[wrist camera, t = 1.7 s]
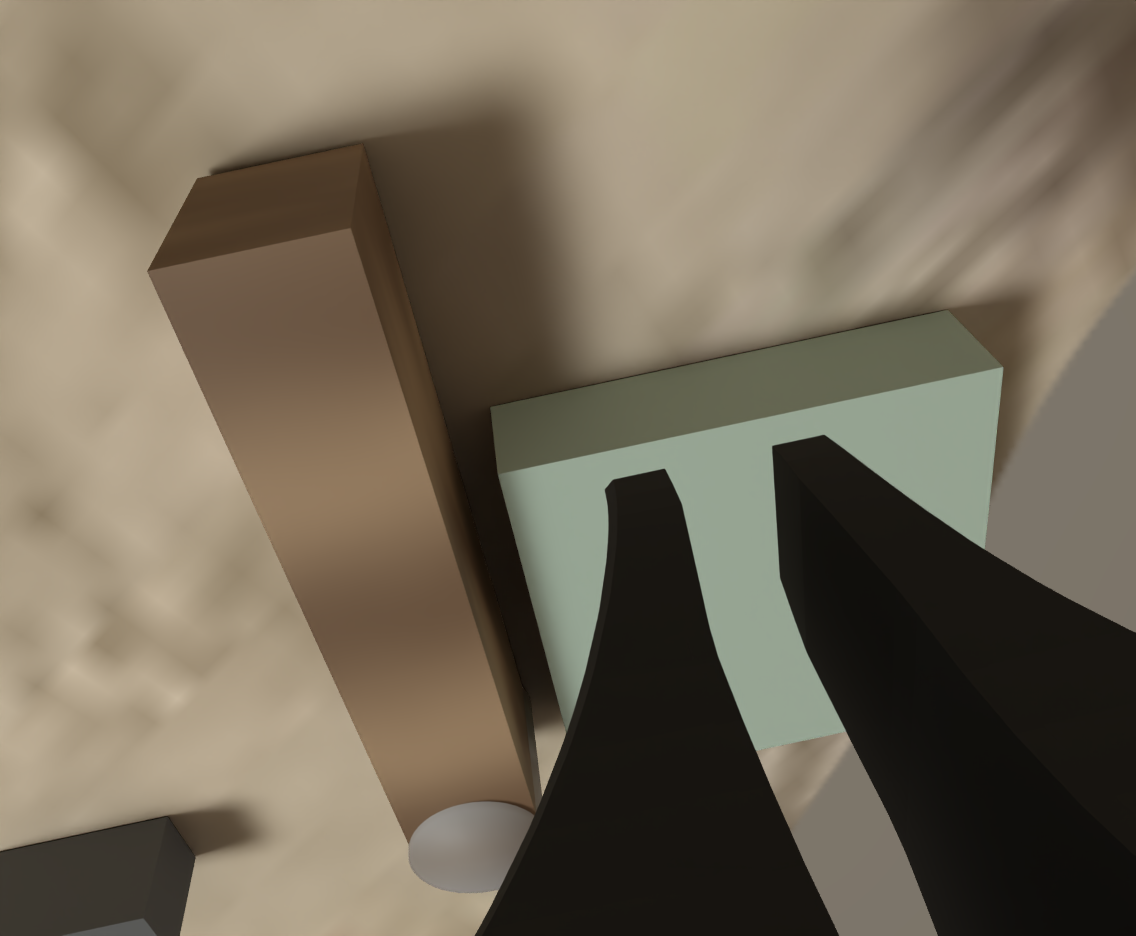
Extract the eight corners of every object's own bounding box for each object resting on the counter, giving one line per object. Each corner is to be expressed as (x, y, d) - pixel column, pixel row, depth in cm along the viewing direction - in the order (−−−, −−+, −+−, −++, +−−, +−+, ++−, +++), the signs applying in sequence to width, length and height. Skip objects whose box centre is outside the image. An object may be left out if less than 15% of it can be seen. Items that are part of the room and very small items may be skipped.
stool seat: (927, 635, 27) (968, 705, 25) (568, 711, 27) (581, 787, 25) (947, 309, 21) (1003, 366, 19) (490, 406, 21) (497, 474, 19)
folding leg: (541, 738, 27) (558, 877, 24) (426, 762, 27) (428, 904, 24) (368, 142, 18) (357, 231, 14) (192, 179, 18) (136, 278, 14)
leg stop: (195, 857, 29) (174, 958, 26) (26, 893, 29) (-11, 998, 26) (167, 816, 28) (143, 918, 25) (-9, 854, 28) (-51, 959, 25)
